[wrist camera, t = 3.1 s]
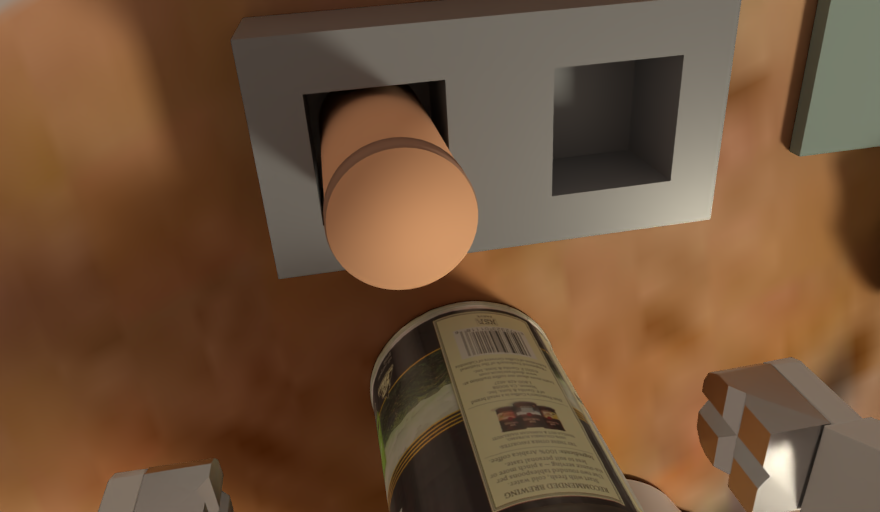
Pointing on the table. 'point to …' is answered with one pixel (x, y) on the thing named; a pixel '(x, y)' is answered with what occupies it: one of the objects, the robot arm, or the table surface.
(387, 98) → the plug
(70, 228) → the table surface
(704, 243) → the table surface
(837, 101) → the mat
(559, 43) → the grey holed block
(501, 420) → the coffee can
